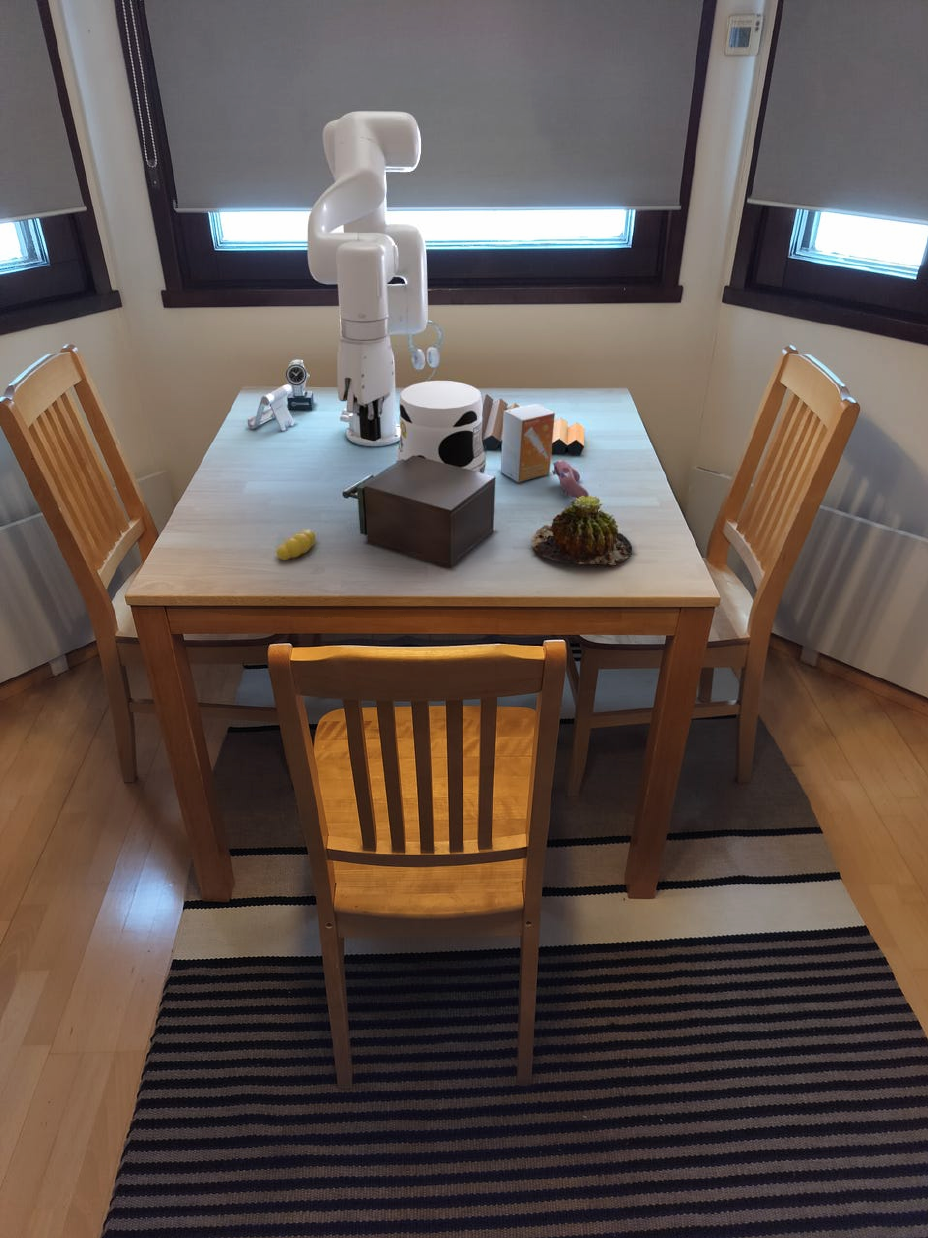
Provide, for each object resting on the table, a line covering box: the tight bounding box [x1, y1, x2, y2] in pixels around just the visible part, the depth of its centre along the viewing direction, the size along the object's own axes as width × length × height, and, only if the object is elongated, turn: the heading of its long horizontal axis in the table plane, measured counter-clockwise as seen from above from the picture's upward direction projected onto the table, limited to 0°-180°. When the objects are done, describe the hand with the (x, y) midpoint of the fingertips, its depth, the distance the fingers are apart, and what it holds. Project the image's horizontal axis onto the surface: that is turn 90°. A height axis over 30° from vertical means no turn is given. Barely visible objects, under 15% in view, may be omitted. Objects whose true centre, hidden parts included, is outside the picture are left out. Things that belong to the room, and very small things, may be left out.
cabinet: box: [364, 455, 496, 570], centre depth 142 cm, size 17×15×11 cm
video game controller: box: [551, 458, 590, 500], centre depth 160 cm, size 10×5×7 cm, turn 5°
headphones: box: [408, 319, 443, 382], centre depth 192 cm, size 8×4×20 cm, turn 120°
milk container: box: [395, 380, 487, 474], centre depth 158 cm, size 17×17×18 cm
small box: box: [500, 403, 555, 483], centre depth 164 cm, size 8×6×13 cm
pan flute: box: [481, 393, 585, 456], centre depth 186 cm, size 25×3×25 cm
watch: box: [285, 359, 315, 412], centre depth 194 cm, size 6×8×11 cm
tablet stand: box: [247, 383, 295, 432], centre depth 185 cm, size 9×8×8 cm
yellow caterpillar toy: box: [275, 529, 316, 561], centre depth 140 cm, size 9×4×3 cm, turn 150°
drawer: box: [342, 459, 405, 536], centre depth 145 cm, size 21×14×9 cm, turn 60°
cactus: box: [531, 495, 633, 566], centre depth 140 cm, size 17×16×10 cm
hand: (370, 438), depth 141 cm, fingers closed
